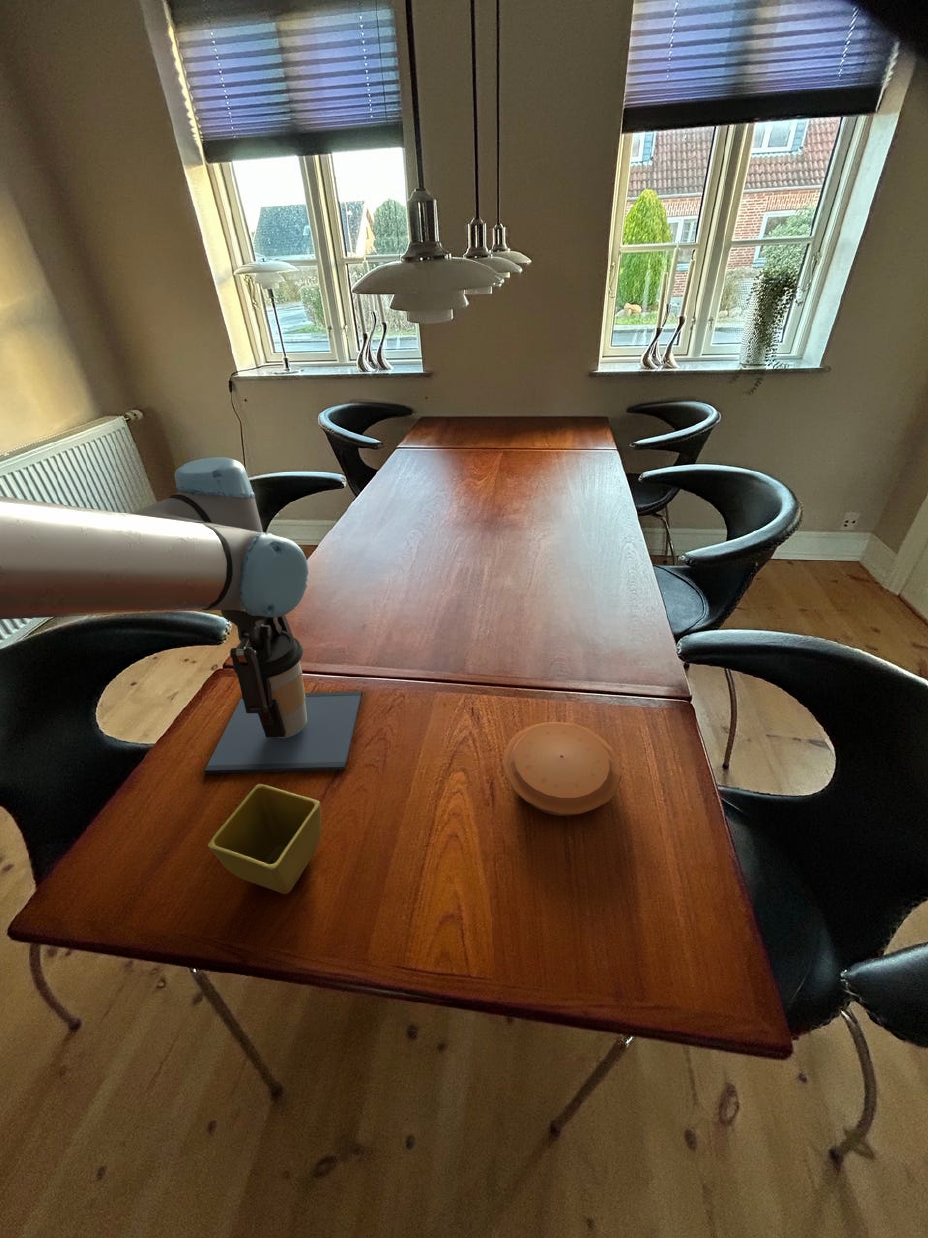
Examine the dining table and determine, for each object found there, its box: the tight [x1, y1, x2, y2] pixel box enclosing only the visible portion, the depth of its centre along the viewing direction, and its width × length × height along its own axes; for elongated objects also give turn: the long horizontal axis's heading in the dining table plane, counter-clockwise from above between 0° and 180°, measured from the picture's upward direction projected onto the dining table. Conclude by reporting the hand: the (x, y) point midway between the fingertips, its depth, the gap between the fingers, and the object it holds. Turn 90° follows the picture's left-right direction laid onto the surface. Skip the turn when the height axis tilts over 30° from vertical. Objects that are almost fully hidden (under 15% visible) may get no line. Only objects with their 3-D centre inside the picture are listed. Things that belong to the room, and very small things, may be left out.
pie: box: [501, 721, 623, 817], centre depth 71 cm, size 16×16×5 cm
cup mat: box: [204, 690, 363, 774], centre depth 82 cm, size 20×16×1 cm
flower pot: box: [207, 783, 323, 895], centre depth 61 cm, size 9×9×9 cm
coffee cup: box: [232, 630, 307, 738], centre depth 77 cm, size 9×9×15 cm
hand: (284, 713), depth 80 cm, fingers closed on coffee cup, 8 cm apart
